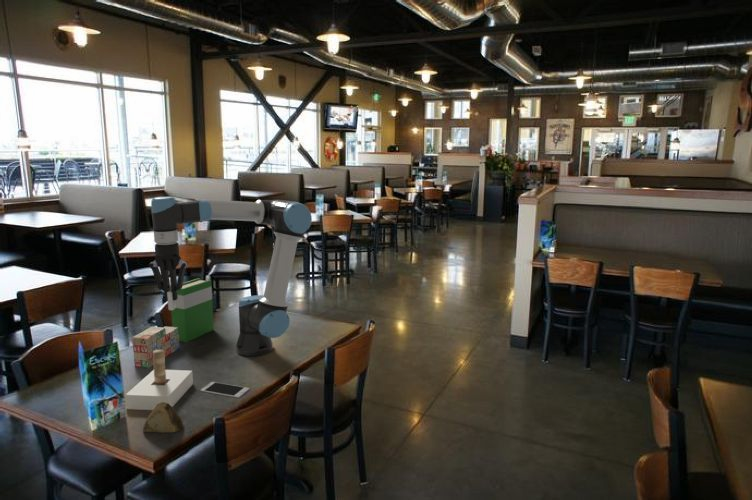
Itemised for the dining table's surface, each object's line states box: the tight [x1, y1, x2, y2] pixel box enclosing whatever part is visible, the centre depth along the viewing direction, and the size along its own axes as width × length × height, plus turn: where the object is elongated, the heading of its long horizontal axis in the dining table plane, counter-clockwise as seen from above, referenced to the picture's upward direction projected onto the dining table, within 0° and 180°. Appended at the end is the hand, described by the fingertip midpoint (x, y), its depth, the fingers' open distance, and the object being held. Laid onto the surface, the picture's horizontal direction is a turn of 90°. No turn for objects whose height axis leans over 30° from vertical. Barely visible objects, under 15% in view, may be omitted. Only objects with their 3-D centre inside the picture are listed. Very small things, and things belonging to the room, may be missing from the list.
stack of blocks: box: [132, 325, 180, 369], centre depth 211 cm, size 21×6×12 cm, turn 169°
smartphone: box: [200, 381, 250, 399], centre depth 185 cm, size 7×16×1 cm, turn 73°
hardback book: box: [170, 277, 214, 343], centre depth 236 cm, size 18×7×24 cm, turn 156°
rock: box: [142, 402, 185, 433], centre depth 158 cm, size 11×9×10 cm
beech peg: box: [153, 350, 166, 385], centre depth 178 cm, size 4×4×16 cm
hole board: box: [125, 369, 194, 411], centre depth 179 cm, size 14×20×5 cm
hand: (172, 308), depth 183 cm, fingers closed
